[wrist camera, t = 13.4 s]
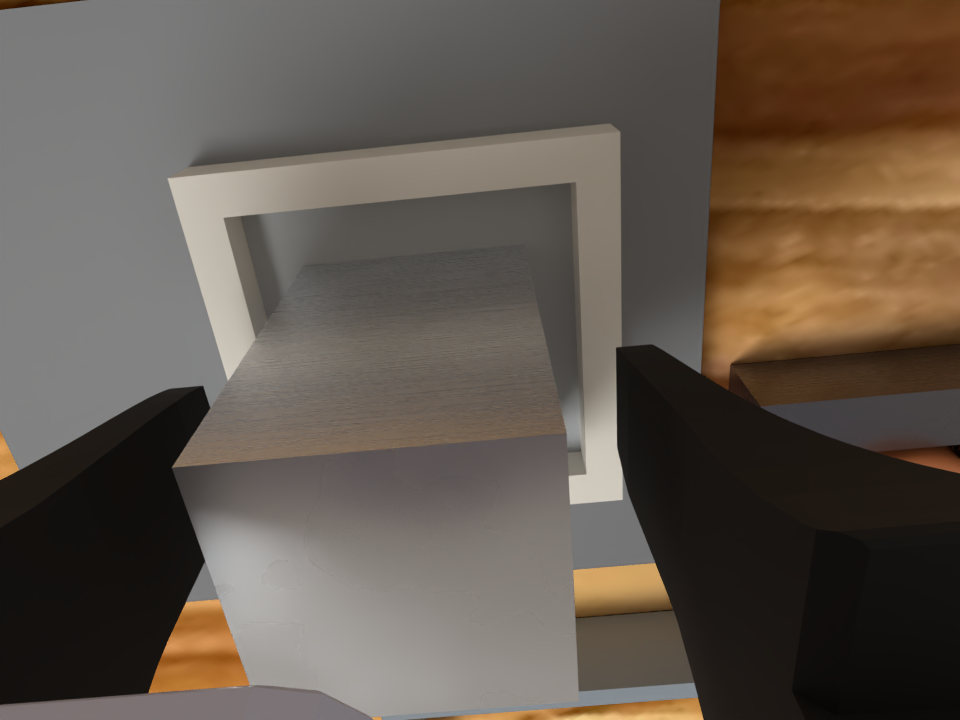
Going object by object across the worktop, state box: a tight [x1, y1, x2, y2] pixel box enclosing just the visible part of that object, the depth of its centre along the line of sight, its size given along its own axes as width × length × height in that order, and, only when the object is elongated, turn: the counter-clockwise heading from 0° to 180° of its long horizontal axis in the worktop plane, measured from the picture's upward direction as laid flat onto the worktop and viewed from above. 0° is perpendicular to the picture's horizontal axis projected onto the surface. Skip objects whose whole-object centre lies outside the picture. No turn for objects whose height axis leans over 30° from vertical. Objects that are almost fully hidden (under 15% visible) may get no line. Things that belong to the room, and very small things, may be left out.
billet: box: [172, 244, 579, 717], centre depth 12 cm, size 4×4×7 cm
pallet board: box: [0, 0, 720, 602], centre depth 15 cm, size 16×14×2 cm
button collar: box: [729, 344, 960, 458], centre depth 18 cm, size 8×8×2 cm
